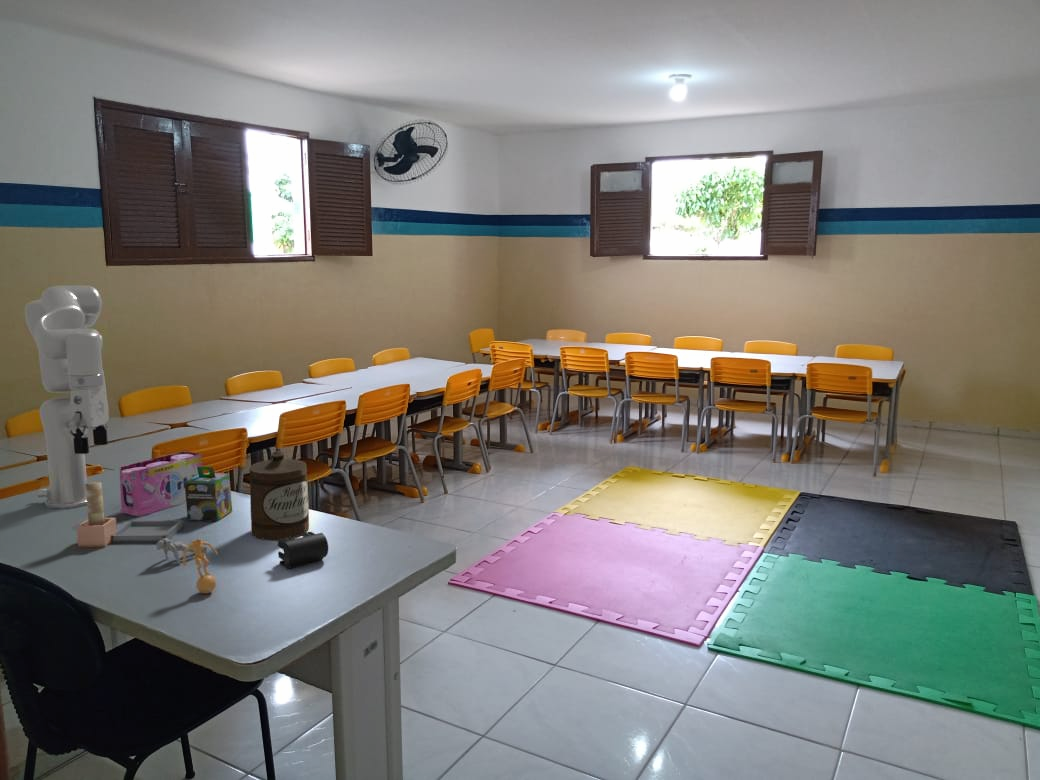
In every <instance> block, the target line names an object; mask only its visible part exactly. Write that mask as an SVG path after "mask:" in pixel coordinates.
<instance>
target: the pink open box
mask: <svg viewBox="0 0 1040 780" xmlns="http://www.w3.org/2000/svg"><path fill="white" fill-rule="evenodd" d="M104 520H105V524H103V525H89V523H88V518H87V519H85V520H84V521H83V522H81V523H80V524H78V525H77V526H76V535H77V547H78V548H106V547H108V546H109V545H110V544H112V543H111V535H113V534H114V533H115V532H117V530H118V529H117V518H116V517H104Z"/></svg>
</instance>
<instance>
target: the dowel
mask: <svg viewBox="0 0 1040 780" xmlns="http://www.w3.org/2000/svg"><path fill="white" fill-rule="evenodd" d="M85 485H86V498H87V504H86V507H87V508H86V510H87V519H88V523H89V525H103V524H105V520H104V518H105V510H104V509H105V508H104V497H103V496H104V495H103V483H102V482H101V481H90V482H87V484H85Z"/></svg>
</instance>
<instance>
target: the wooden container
mask: <svg viewBox="0 0 1040 780" xmlns="http://www.w3.org/2000/svg"><path fill="white" fill-rule="evenodd" d="M284 457H285V453H284V452H283V451H280V450H275V451H273V452H272V453H271V455H270V458H271V459H268V460H262V461H259V462H256V463H253V464H252V465H250V467H249V484H250V485H249V486H250V487H249V489H250V490H249V491H250V497H249V498H250V520H251V521H250V526H251V527H250V528H251V535H252V536H254V537H255V538H256V539H260V540H267V541H278V540H279V539H282V538H286V537H291V538H293V539H295V538H298V537H299V536H301V534H303V533H307V532H309V529H310V515H309V514H310V512H309V507H310V506H309V491H308V475H307V474H308V468H307V466H308V465H307V463H306V462H305V461H303V460H299V459H294V458H293V459H292V458H291V459H290V458H284Z"/></svg>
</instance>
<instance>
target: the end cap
mask: <svg viewBox="0 0 1040 780" xmlns="http://www.w3.org/2000/svg"><path fill="white" fill-rule="evenodd" d="M300 536H301V537H299V538H298V537H297V538H291V537H286V538H282V539H279V540H277V547H278V548H280V549H282V551H283V552H282V551H278V553H277V555H278V558H279V559H281V560H280V561H279V565H280V566H282V567H283V568H285V569H291V568H292V569H293V568H295V567H299V566H302V565H304V566H305V565H306V564H311V563H315V562H318V561H321V560H323V559H325V558H326V557H327V556H328V553H329V543H328V539H327V536H326V535H325V534H324V533H323V532H318V533H314V532H312V531H307V532H306V533H303V534H301V535H300Z"/></svg>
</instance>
